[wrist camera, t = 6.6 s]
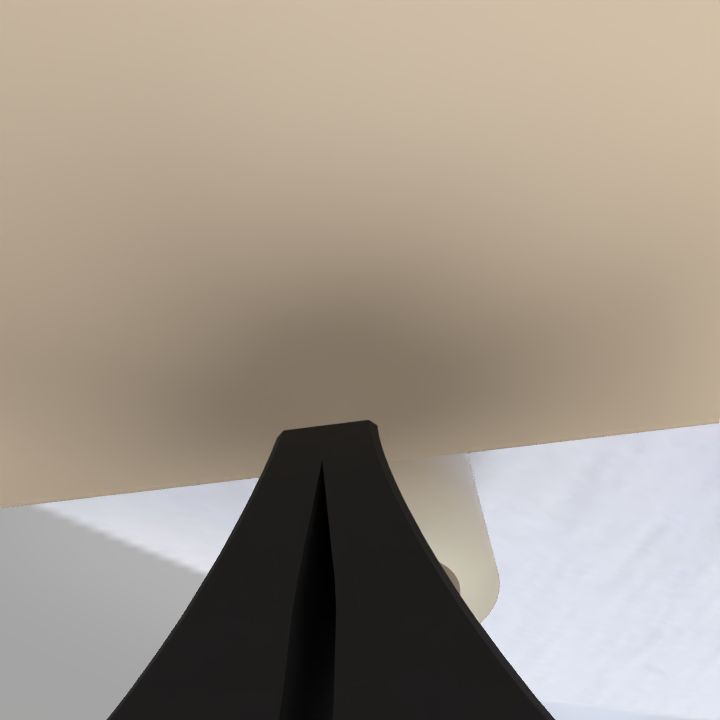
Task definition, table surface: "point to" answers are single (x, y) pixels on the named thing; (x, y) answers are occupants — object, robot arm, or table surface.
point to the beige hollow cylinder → (452, 524)
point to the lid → (349, 230)
